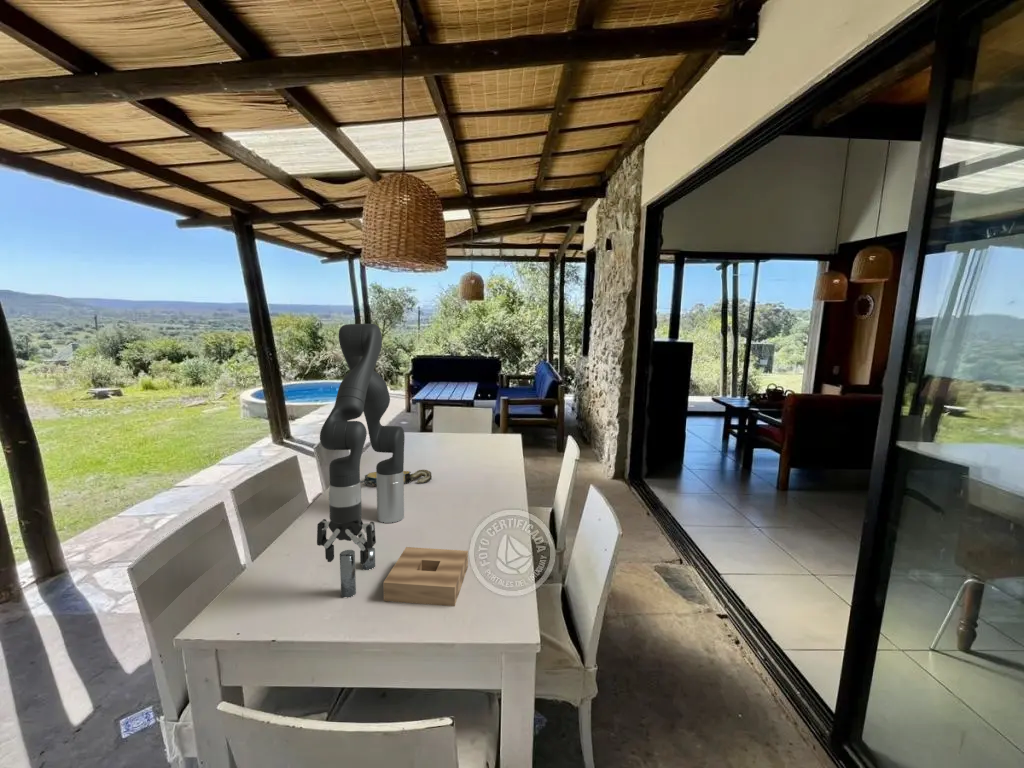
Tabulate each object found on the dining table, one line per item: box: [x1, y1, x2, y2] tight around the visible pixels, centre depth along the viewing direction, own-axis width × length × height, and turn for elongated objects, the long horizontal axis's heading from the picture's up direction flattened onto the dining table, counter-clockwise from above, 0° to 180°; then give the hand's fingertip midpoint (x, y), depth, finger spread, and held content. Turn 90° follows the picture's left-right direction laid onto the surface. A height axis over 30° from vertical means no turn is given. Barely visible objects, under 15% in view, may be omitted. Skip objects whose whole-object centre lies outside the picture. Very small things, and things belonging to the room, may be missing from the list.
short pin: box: [361, 546, 376, 571], centre depth 127 cm, size 4×4×5 cm
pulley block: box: [360, 469, 433, 486], centre depth 195 cm, size 14×6×30 cm
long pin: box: [339, 549, 357, 598], centre depth 114 cm, size 4×4×11 cm
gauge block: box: [382, 546, 469, 607], centre depth 120 cm, size 18×18×5 cm
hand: (347, 561), depth 114 cm, fingers open, 8 cm apart
